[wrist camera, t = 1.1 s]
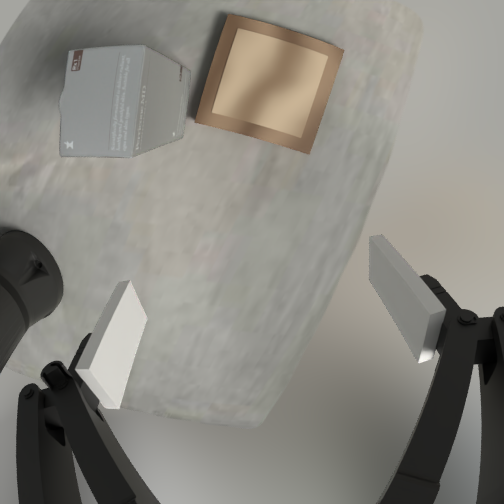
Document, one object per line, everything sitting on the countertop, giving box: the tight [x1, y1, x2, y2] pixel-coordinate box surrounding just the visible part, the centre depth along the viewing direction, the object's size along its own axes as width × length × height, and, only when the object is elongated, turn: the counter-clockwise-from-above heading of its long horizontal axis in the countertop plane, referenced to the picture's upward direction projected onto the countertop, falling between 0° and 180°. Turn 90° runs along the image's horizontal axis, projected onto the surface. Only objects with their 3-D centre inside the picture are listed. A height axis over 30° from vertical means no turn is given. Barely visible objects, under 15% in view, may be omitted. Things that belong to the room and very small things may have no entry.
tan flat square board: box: [195, 14, 344, 154], centre depth 30 cm, size 13×13×2 cm
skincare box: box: [59, 45, 191, 158], centre depth 24 cm, size 8×7×16 cm
